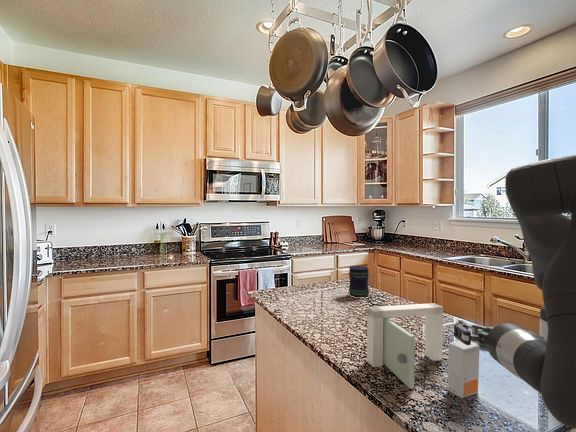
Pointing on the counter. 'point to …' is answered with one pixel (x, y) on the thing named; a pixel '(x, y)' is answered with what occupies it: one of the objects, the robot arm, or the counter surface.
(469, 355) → the skincare box
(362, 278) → the storage jar
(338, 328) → the counter surface
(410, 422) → the counter surface
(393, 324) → the door
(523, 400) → the counter surface
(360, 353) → the counter surface
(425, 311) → the door frame
